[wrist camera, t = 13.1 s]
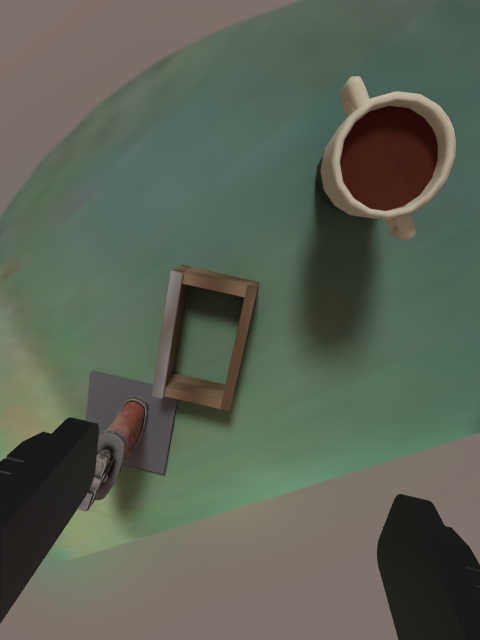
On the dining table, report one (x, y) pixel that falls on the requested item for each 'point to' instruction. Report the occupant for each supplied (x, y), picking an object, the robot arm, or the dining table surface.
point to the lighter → (116, 447)
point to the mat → (156, 436)
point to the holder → (174, 309)
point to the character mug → (386, 156)
